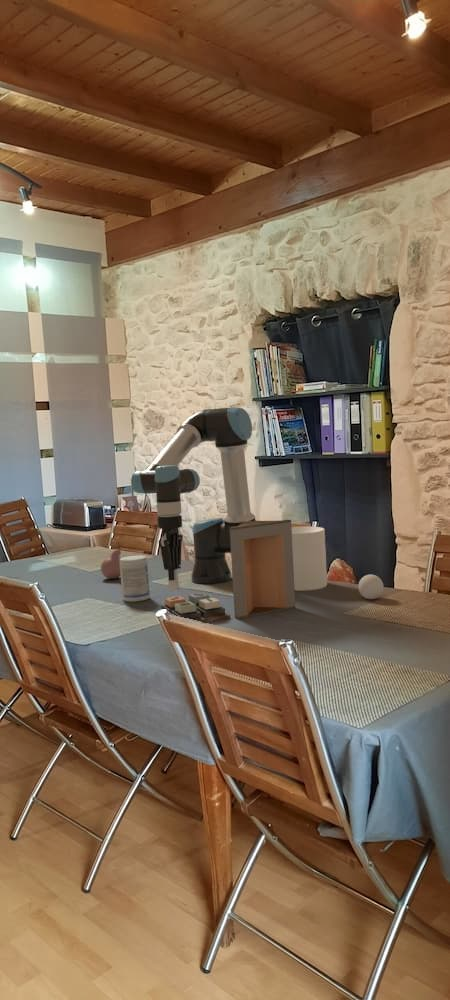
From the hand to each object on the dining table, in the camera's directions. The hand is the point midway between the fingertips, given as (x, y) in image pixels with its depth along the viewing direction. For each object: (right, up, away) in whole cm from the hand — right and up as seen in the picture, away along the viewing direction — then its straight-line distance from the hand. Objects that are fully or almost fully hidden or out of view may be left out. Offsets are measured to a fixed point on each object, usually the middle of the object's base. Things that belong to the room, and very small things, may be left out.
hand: (174, 589), depth 237 cm
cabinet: (+27, -7, +1) cm, 28 cm away
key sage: (+4, -5, -7) cm, 10 cm away
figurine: (-28, -3, +65) cm, 71 cm away
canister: (+44, -3, +33) cm, 55 cm away
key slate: (+8, -4, +4) cm, 10 cm away
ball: (+63, -4, +7) cm, 64 cm away
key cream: (+11, -5, -4) cm, 13 cm away
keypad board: (+6, -8, -1) cm, 10 cm away
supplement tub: (-15, -7, +26) cm, 31 cm away
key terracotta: (0, -5, +1) cm, 5 cm away
